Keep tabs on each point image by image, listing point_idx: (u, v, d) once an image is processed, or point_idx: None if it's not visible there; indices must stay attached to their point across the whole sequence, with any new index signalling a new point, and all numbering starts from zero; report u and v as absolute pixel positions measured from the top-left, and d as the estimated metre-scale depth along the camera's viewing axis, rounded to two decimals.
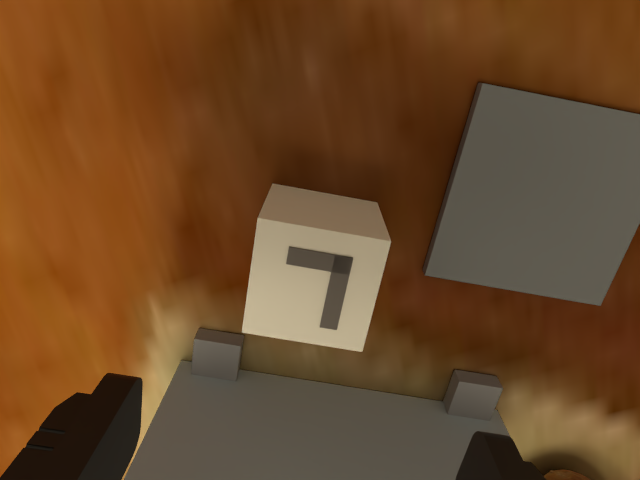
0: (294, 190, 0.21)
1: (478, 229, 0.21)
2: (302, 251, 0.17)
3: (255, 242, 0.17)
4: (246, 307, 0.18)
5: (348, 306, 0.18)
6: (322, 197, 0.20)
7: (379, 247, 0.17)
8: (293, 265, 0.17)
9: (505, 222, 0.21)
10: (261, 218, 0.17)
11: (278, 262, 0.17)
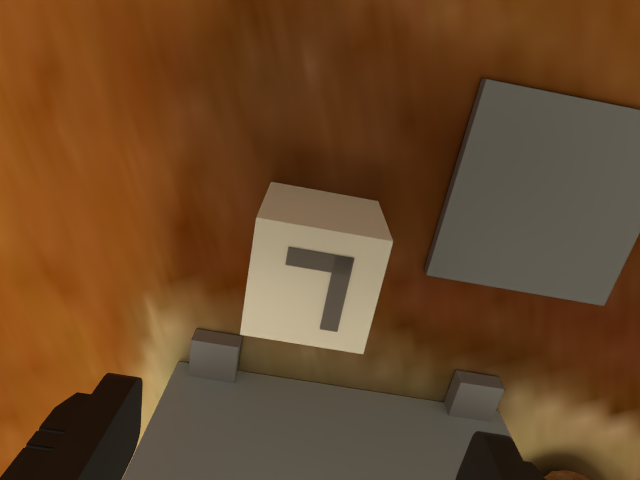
0: (293, 188, 0.20)
1: (481, 228, 0.21)
2: (302, 251, 0.16)
3: (253, 242, 0.16)
4: (244, 309, 0.17)
5: (349, 308, 0.17)
6: (322, 195, 0.20)
7: (381, 247, 0.16)
8: (293, 265, 0.17)
9: (509, 221, 0.21)
10: (260, 218, 0.16)
11: (277, 263, 0.17)
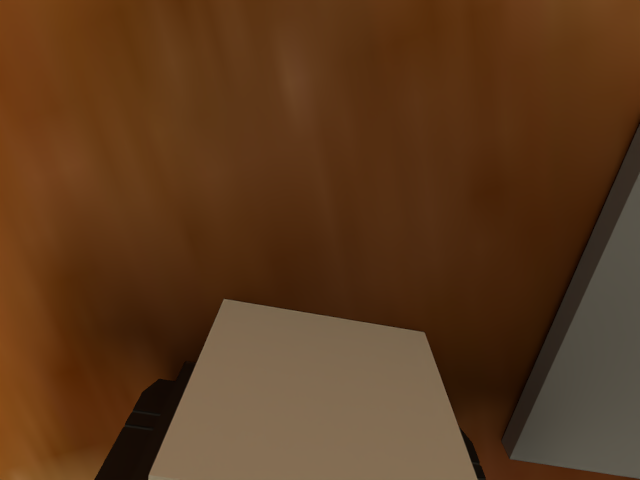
0: (264, 318, 0.10)
1: (619, 386, 0.11)
2: None
3: None
4: None
5: None
6: (320, 335, 0.10)
7: None
8: None
9: None
10: (159, 475, 0.06)
11: None
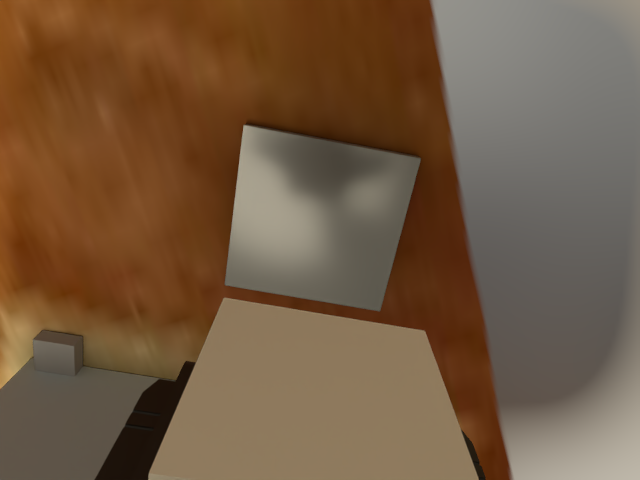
0: (264, 317, 0.10)
1: (263, 246, 0.25)
2: None
3: None
4: None
5: None
6: (320, 333, 0.10)
7: None
8: None
9: (285, 240, 0.25)
10: (159, 474, 0.06)
11: None
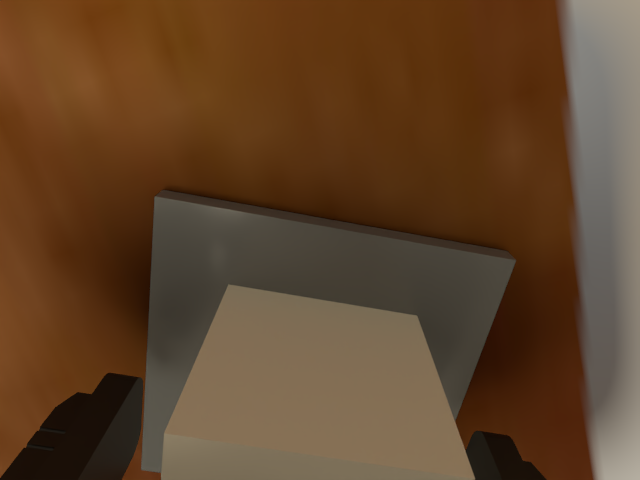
0: (266, 302, 0.11)
1: None
2: None
3: (164, 478, 0.07)
4: None
5: None
6: (318, 317, 0.11)
7: None
8: None
9: None
10: (173, 434, 0.07)
11: None
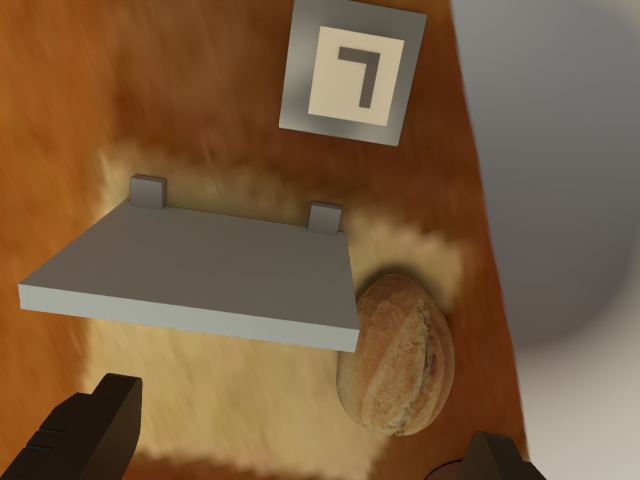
0: None
1: (308, 92, 0.33)
2: (348, 49, 0.27)
3: (318, 44, 0.27)
4: (311, 93, 0.28)
5: (377, 90, 0.28)
6: None
7: (397, 45, 0.27)
8: (342, 59, 0.27)
9: None
10: (322, 26, 0.26)
11: (332, 58, 0.27)
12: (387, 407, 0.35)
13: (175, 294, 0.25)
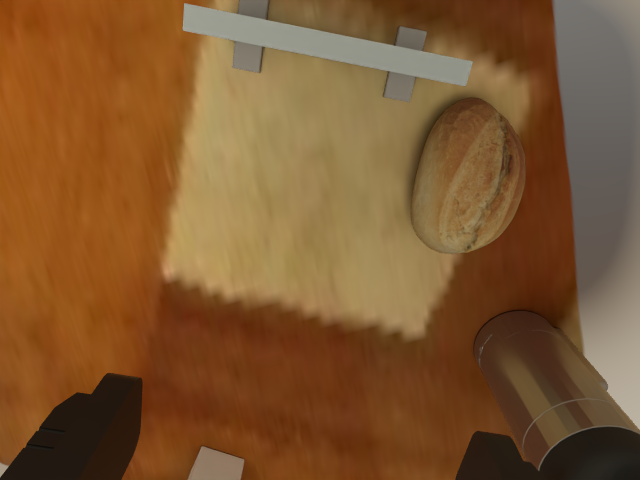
0: None
1: None
2: None
3: None
4: None
5: None
6: None
7: None
8: None
9: None
10: None
11: None
12: (466, 206, 0.38)
13: None
